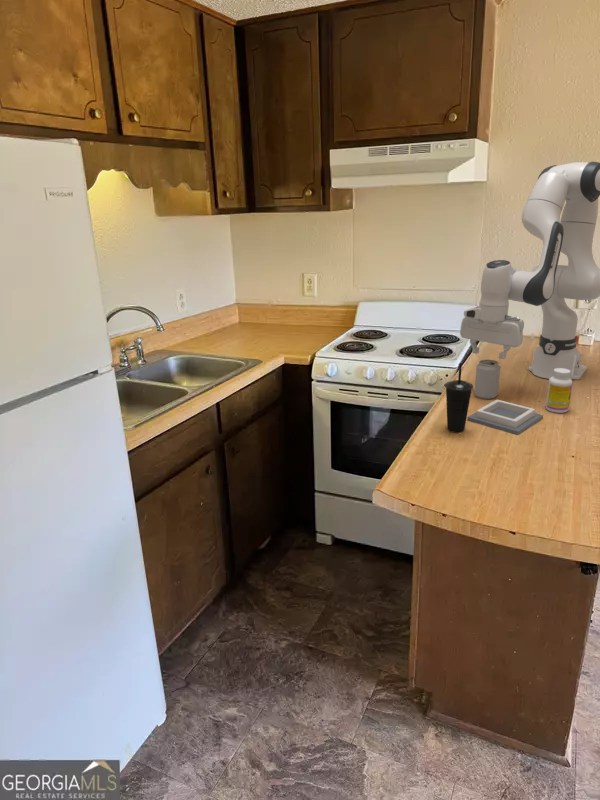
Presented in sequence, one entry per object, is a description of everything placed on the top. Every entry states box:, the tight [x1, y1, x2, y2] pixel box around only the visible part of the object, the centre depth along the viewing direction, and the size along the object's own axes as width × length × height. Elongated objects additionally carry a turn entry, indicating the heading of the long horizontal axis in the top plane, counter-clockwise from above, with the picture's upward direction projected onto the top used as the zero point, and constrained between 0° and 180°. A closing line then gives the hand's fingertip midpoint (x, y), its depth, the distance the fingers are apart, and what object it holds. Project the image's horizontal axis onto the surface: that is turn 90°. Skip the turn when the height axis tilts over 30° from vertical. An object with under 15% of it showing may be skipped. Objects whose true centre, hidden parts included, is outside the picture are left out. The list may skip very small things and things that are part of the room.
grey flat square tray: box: [466, 399, 544, 436], centre depth 171 cm, size 16×16×3 cm
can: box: [474, 359, 501, 400], centre depth 188 cm, size 8×8×12 cm
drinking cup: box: [444, 362, 474, 433], centre depth 163 cm, size 8×8×20 cm
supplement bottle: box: [545, 368, 573, 414], centre depth 175 cm, size 7×7×13 cm
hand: (488, 355), depth 185 cm, fingers open, 8 cm apart
